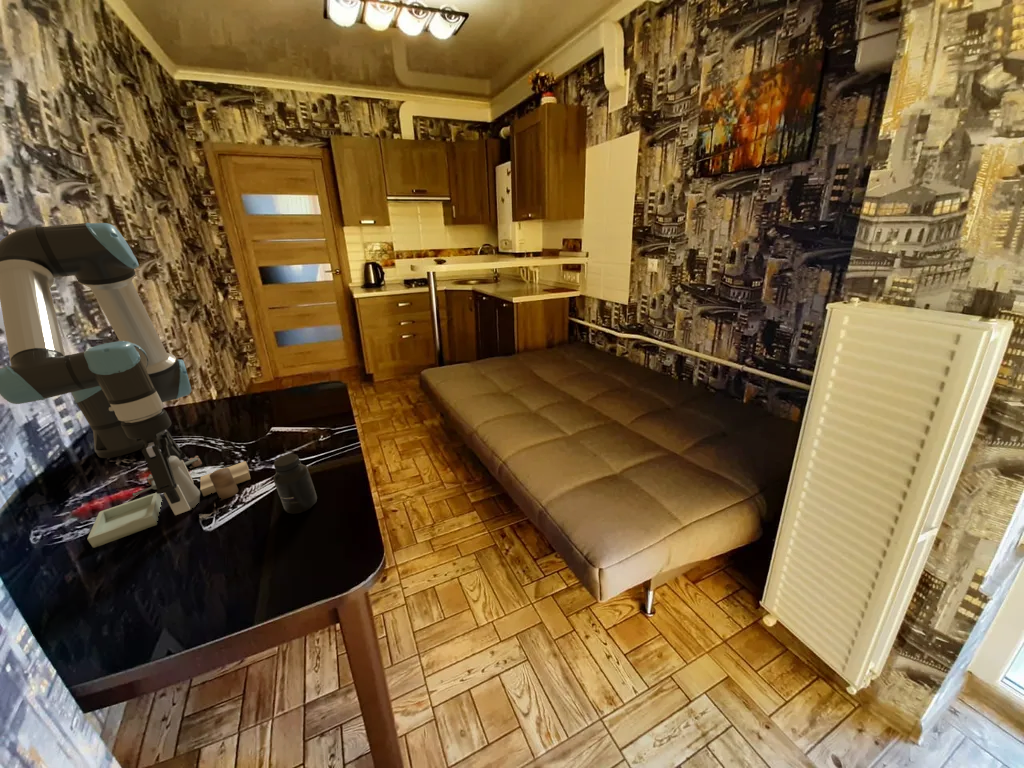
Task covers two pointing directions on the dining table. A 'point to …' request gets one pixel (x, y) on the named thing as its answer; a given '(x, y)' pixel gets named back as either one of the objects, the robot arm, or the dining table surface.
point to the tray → (125, 519)
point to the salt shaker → (184, 483)
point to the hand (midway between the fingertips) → (185, 497)
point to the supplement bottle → (294, 484)
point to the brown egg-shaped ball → (224, 483)
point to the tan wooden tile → (238, 473)
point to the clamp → (194, 461)
